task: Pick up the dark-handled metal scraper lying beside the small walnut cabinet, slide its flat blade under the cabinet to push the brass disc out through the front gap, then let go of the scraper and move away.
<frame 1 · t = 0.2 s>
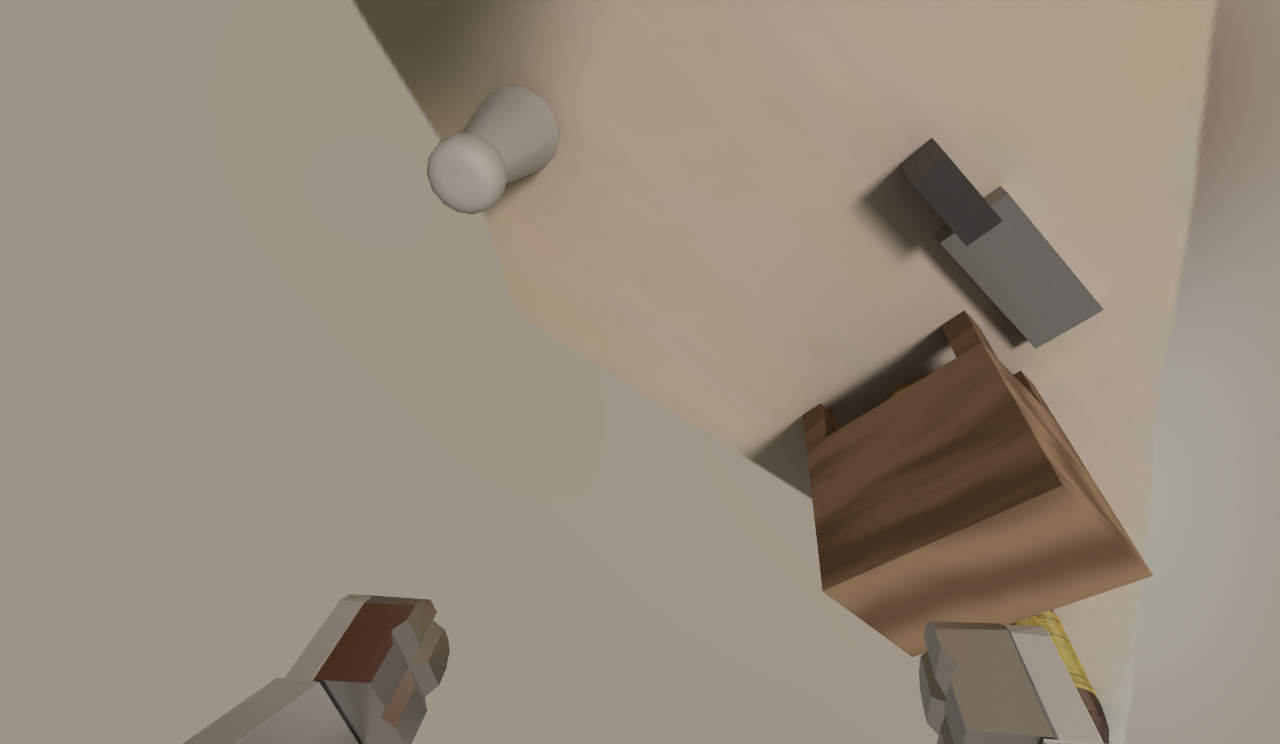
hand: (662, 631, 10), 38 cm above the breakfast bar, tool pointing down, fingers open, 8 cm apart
scraper: (941, 182, 42), on the breakfast bar
walnut cabinet: (912, 401, 53), on the breakfast bar
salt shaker: (528, 121, 43), on the breakfast bar
sauce bottle: (1021, 607, 67), on the breakfast bar
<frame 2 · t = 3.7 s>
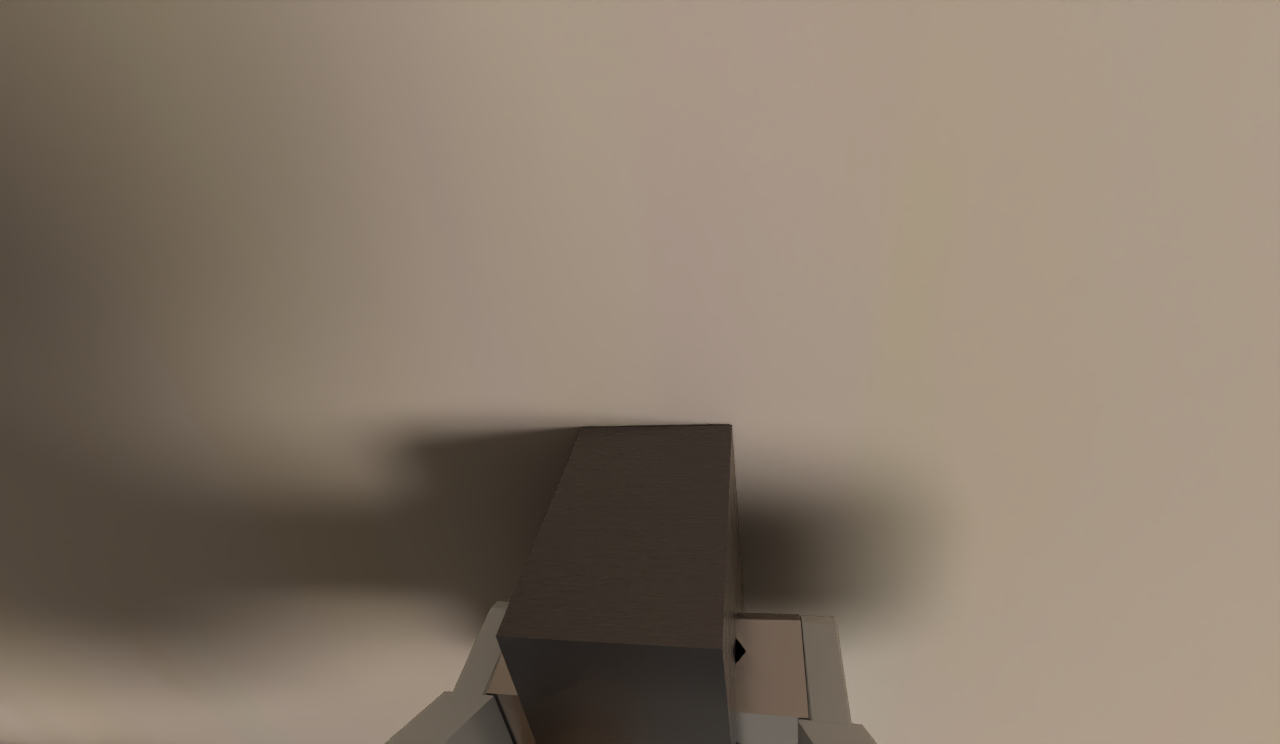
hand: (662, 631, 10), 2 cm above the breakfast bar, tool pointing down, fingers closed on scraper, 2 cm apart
scraper: (673, 557, 11), on the breakfast bar, touching gripper
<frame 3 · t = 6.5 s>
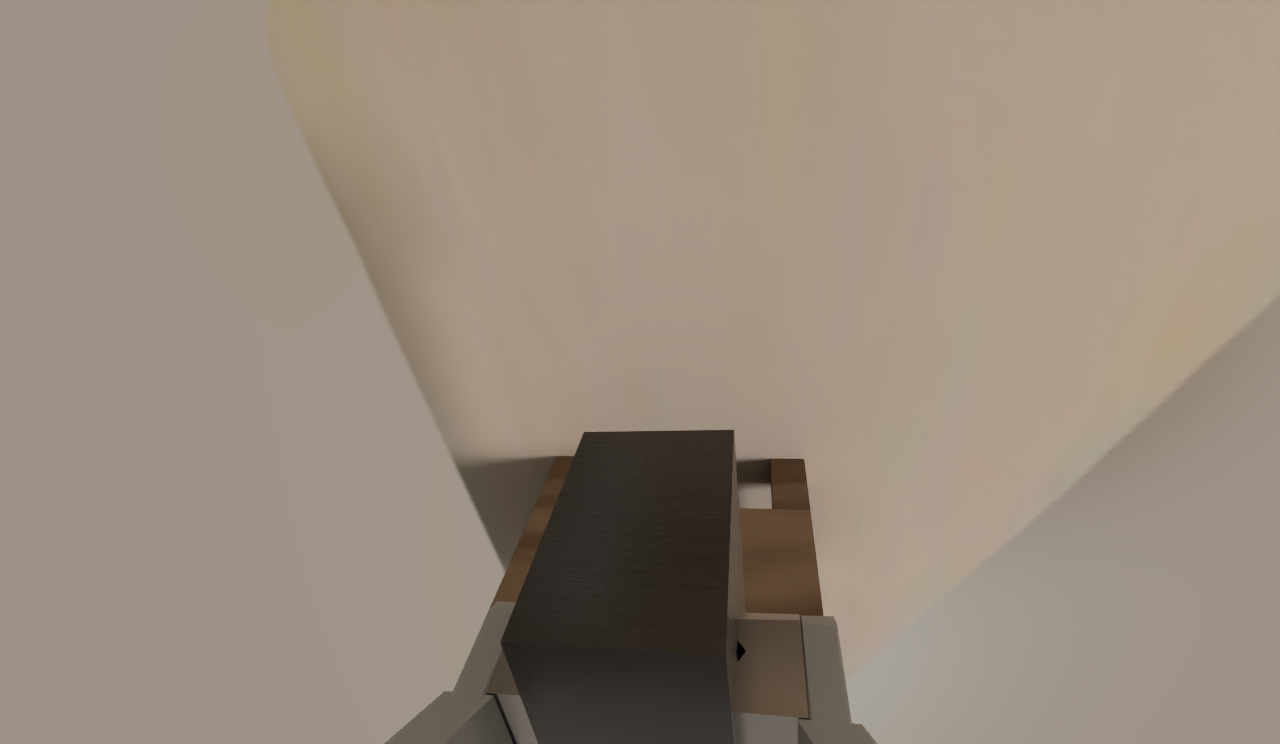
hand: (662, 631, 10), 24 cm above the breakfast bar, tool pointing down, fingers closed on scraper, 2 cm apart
scraper: (675, 560, 11), point 22 cm above the breakfast bar, touching gripper
walnut cabinet: (681, 516, 41), on the breakfast bar
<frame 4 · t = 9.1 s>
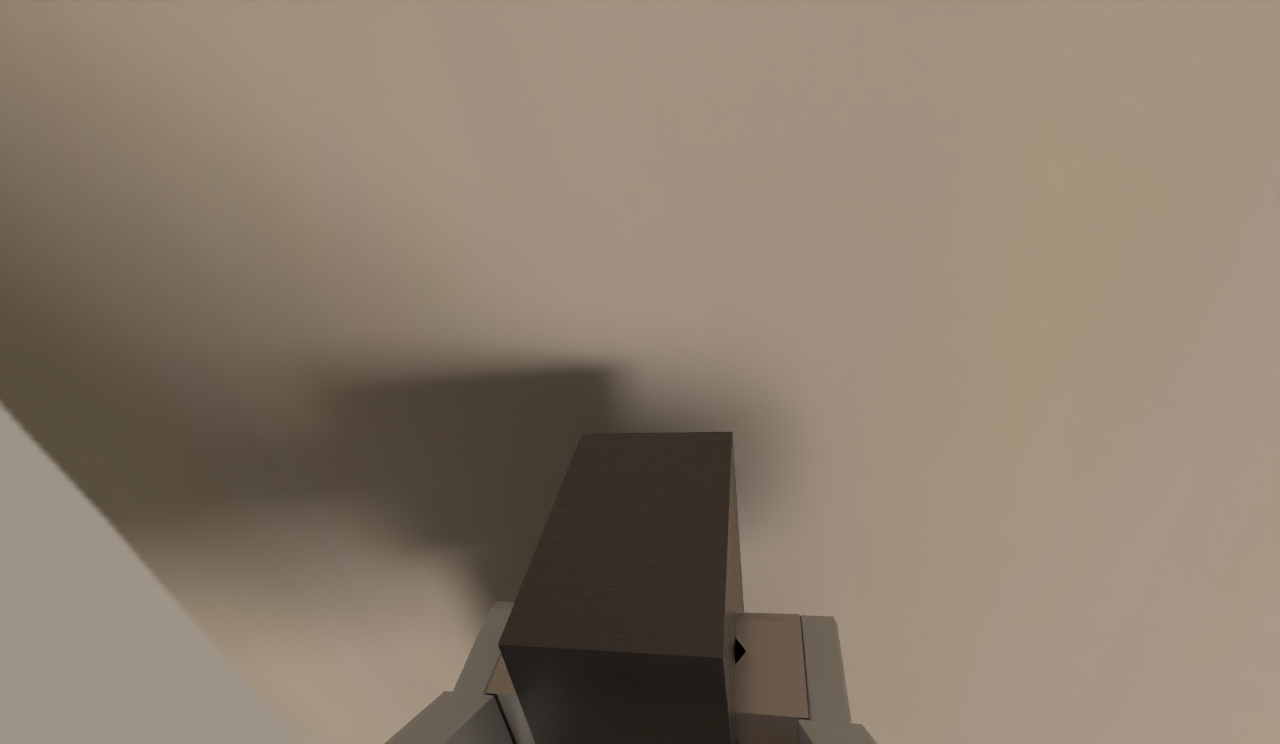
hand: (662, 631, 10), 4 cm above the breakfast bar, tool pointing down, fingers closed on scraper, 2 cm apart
scraper: (673, 562, 11), point 2 cm above the breakfast bar, touching gripper
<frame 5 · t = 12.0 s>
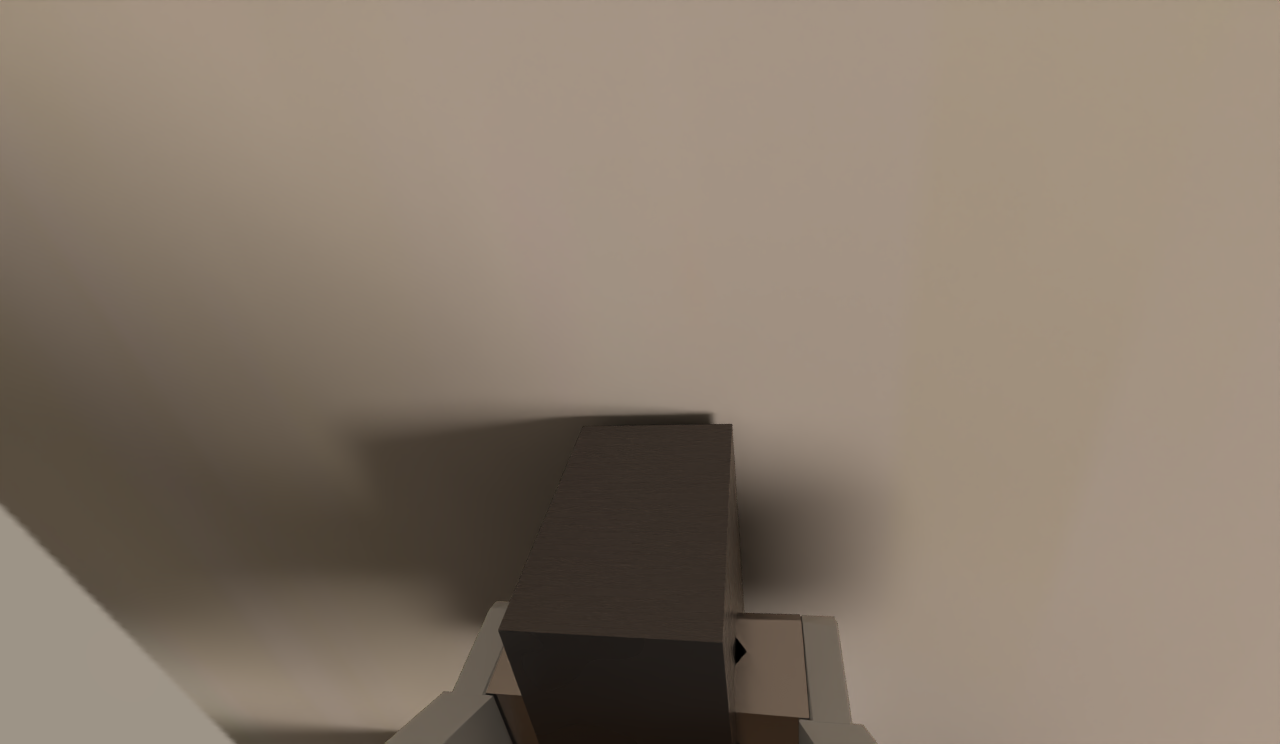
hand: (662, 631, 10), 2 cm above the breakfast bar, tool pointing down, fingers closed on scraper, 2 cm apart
scraper: (673, 556, 11), on the breakfast bar, touching gripper
when the fingers open (2 cm above the breakfast bar, at t = 14.9 s): scraper stays where it is, on the breakfast bar.
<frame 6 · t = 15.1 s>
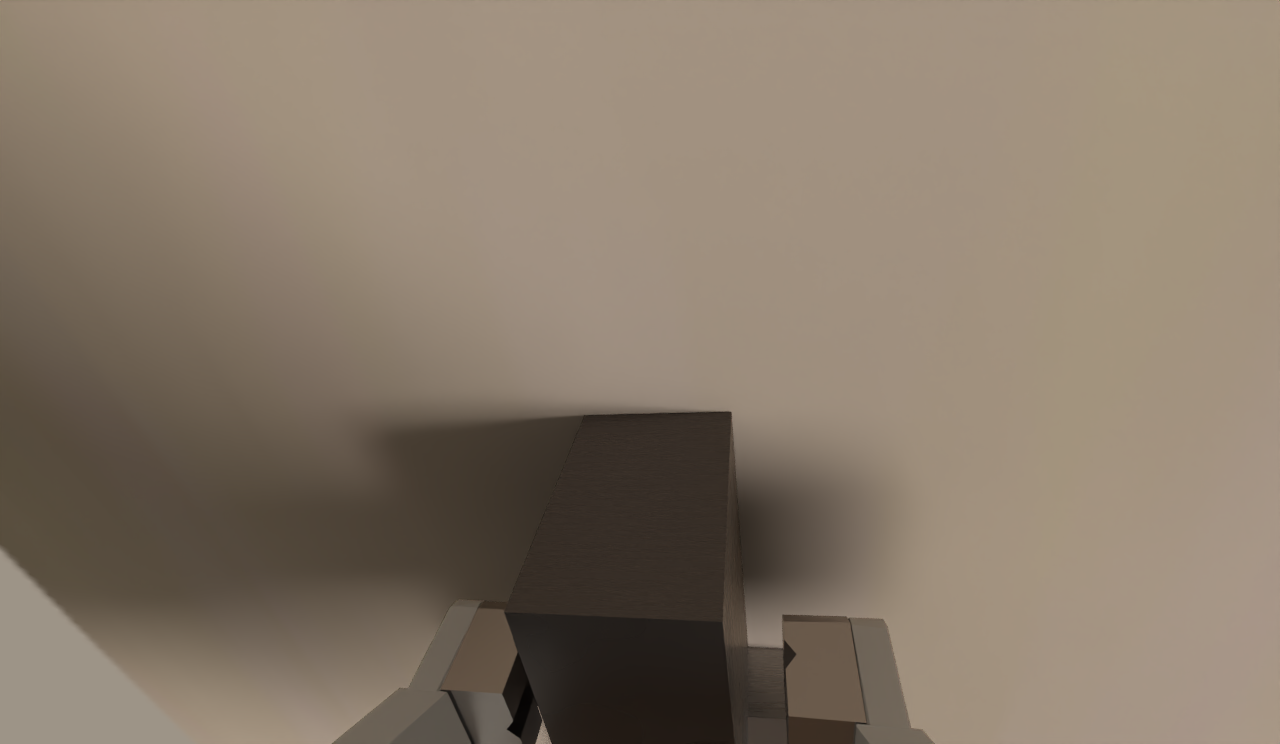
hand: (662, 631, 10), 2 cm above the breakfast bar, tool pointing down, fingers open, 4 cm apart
scraper: (674, 543, 12), on the breakfast bar
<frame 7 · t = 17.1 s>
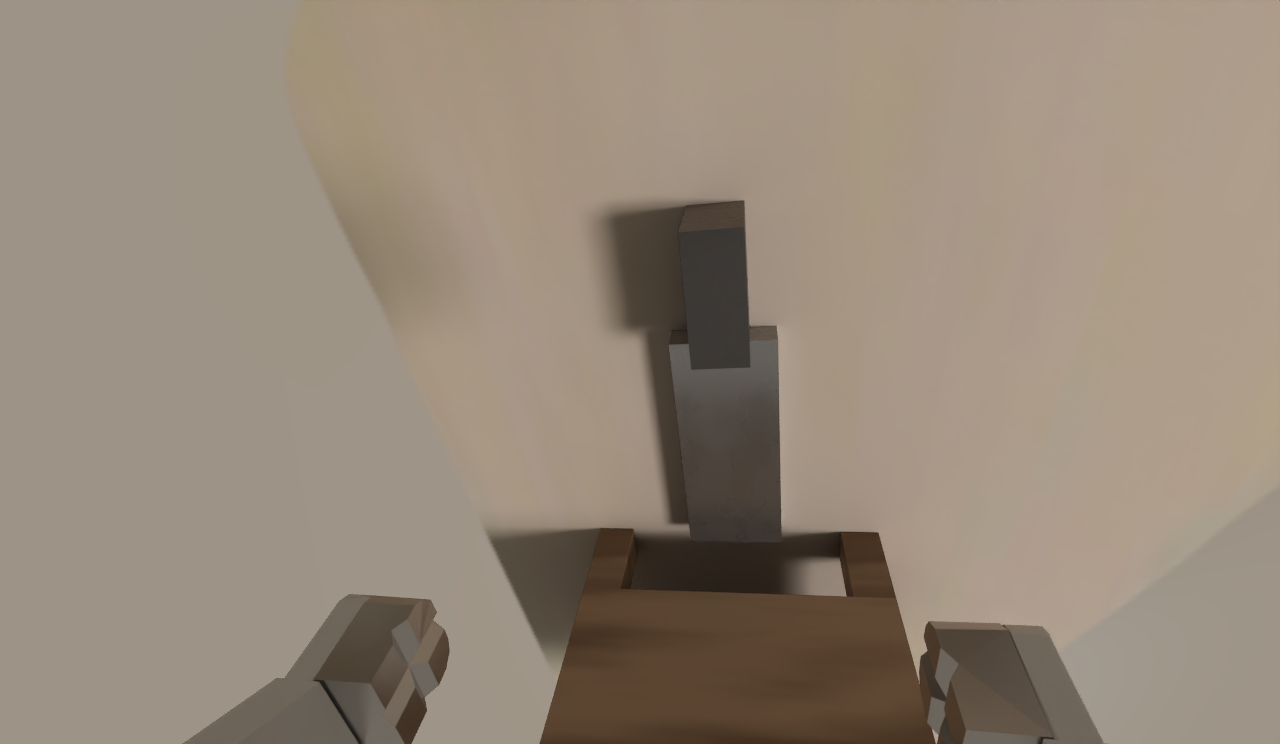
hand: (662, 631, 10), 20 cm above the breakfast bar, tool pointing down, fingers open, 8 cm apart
scraper: (719, 269, 27), on the breakfast bar
walnut cabinet: (737, 590, 37), on the breakfast bar
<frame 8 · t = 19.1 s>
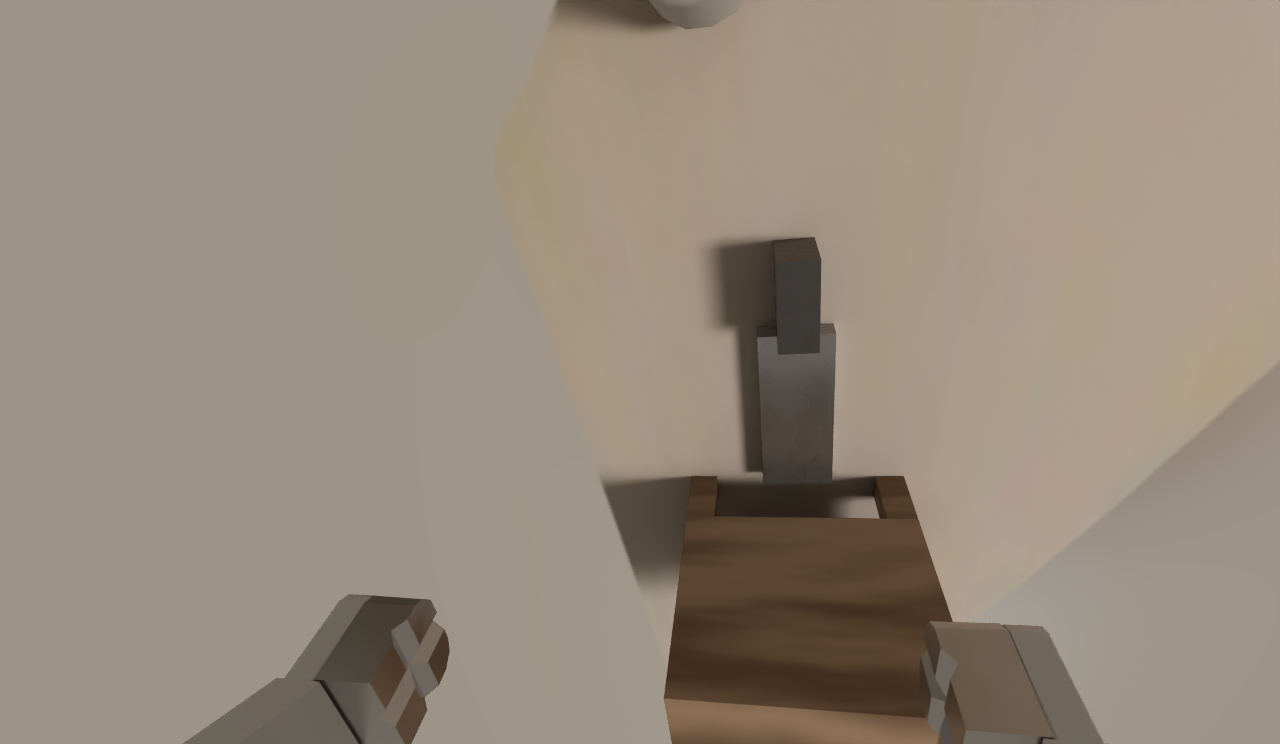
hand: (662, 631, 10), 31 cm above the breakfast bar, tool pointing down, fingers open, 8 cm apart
scraper: (794, 283, 39), on the breakfast bar
walnut cabinet: (794, 524, 49), on the breakfast bar
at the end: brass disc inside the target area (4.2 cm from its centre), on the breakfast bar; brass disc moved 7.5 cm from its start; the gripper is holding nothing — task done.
